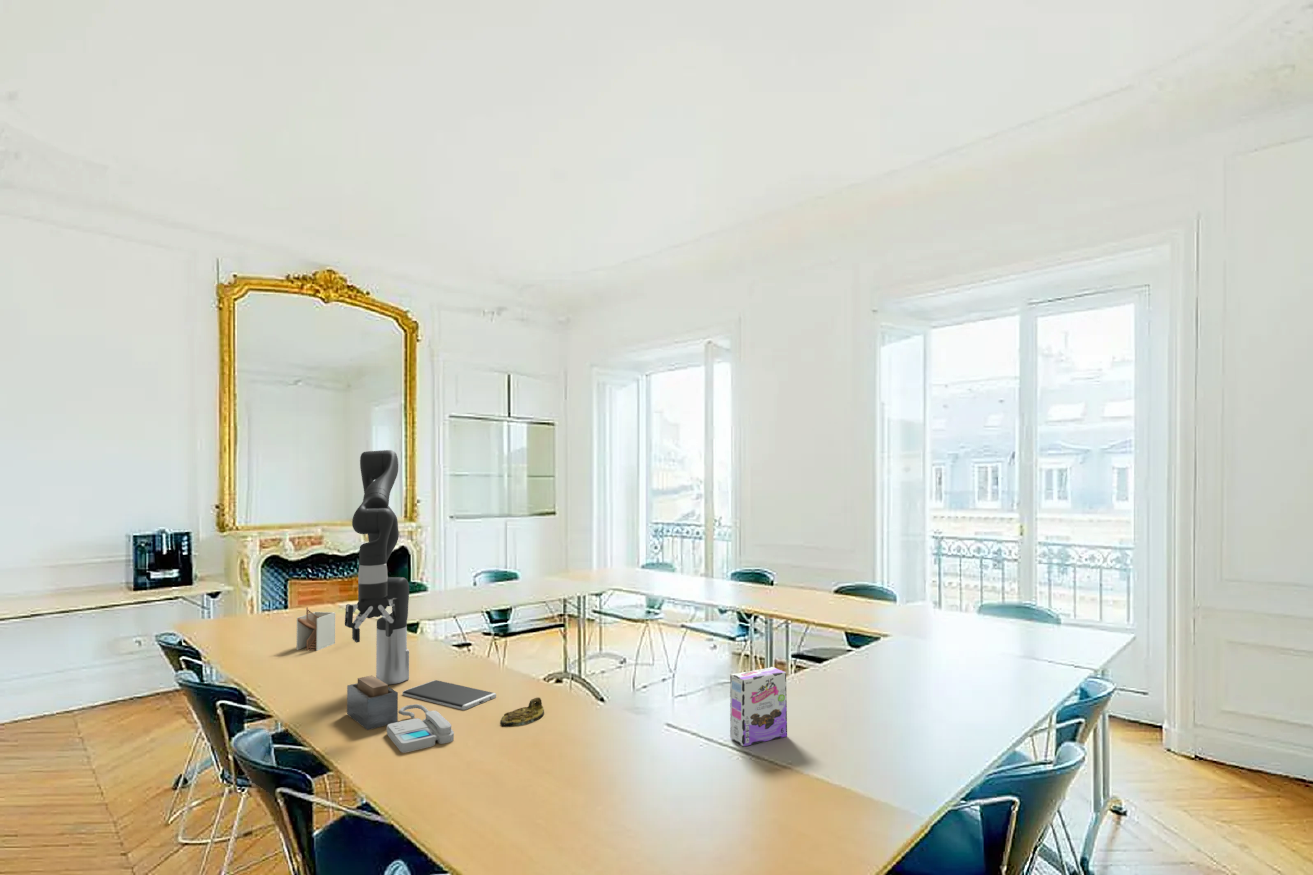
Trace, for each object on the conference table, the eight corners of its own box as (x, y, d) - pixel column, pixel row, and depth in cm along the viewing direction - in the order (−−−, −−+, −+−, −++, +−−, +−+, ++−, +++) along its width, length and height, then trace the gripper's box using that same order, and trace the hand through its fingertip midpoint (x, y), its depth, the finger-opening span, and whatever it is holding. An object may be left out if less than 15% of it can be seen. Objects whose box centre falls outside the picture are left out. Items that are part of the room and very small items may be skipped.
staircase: (296, 651, 265) (296, 607, 266) (314, 643, 276) (315, 601, 277) (317, 652, 264) (317, 607, 265) (334, 644, 275) (335, 602, 275)
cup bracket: (375, 707, 201) (376, 679, 201) (397, 722, 189) (397, 692, 190) (347, 714, 196) (347, 685, 196) (367, 730, 184) (367, 699, 184)
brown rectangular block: (371, 693, 199) (372, 675, 199) (387, 703, 190) (388, 684, 190) (357, 696, 196) (357, 678, 196) (373, 707, 187) (373, 688, 187)
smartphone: (464, 712, 198) (464, 706, 198) (400, 696, 212) (400, 690, 212) (497, 698, 209) (497, 692, 210) (435, 684, 223) (435, 679, 223)
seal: (515, 735, 183) (553, 716, 196) (516, 717, 183) (554, 700, 196) (490, 724, 188) (529, 707, 201) (491, 707, 188) (530, 690, 201)
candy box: (743, 747, 170) (742, 679, 171) (729, 739, 176) (728, 673, 176) (788, 737, 177) (787, 671, 178) (774, 729, 182) (773, 665, 183)
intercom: (426, 697, 197) (455, 724, 176) (425, 713, 197) (455, 741, 176) (376, 707, 189) (401, 736, 169) (376, 723, 189) (401, 754, 169)
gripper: (393, 575, 201) (393, 632, 201) (341, 581, 192) (341, 641, 191) (403, 578, 196) (403, 637, 195) (351, 585, 186) (350, 646, 186)
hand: (372, 639), depth 193 cm, fingers open, 8 cm apart
